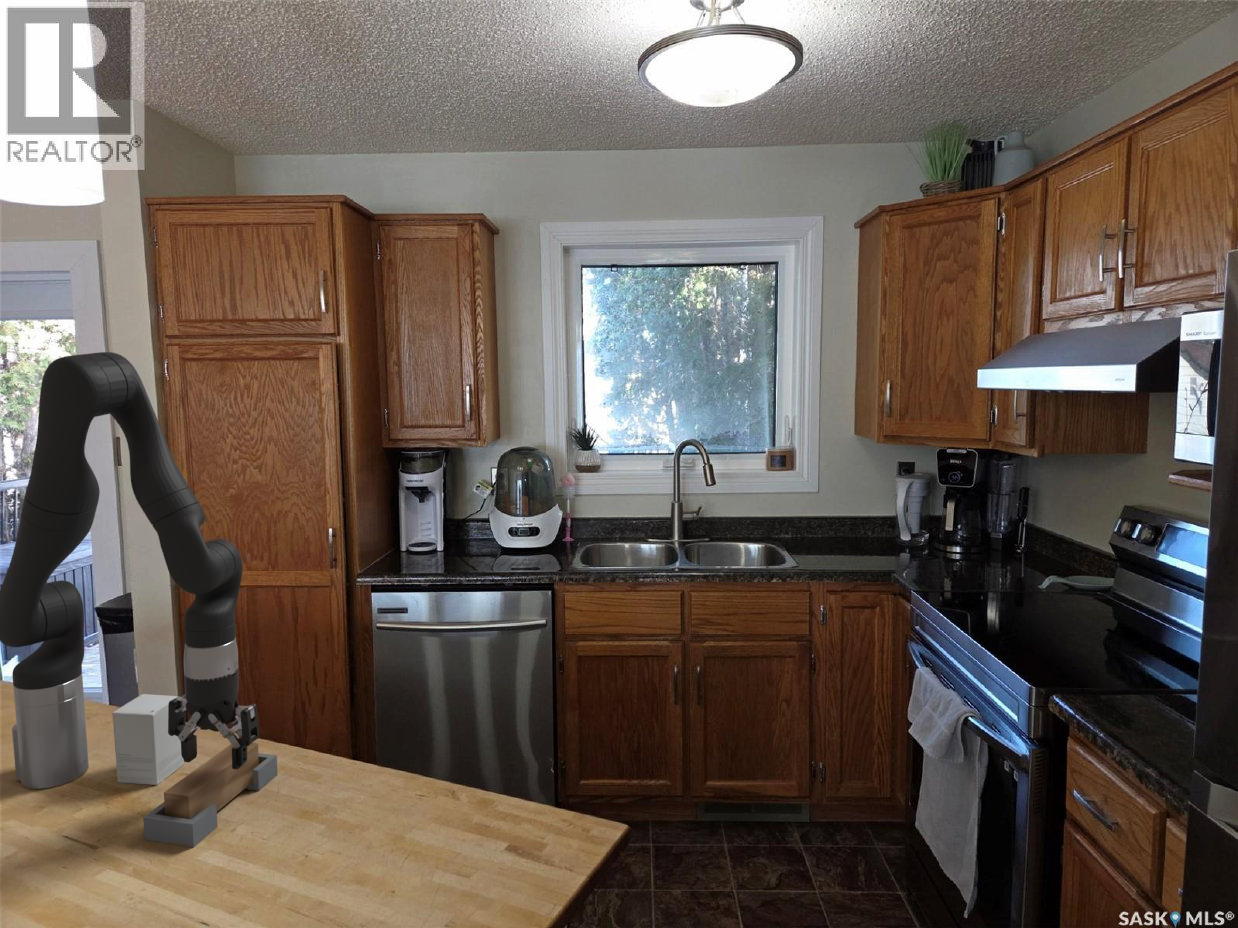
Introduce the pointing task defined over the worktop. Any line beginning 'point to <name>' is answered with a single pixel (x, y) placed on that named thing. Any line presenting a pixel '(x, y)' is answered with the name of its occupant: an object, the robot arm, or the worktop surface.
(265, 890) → the worktop surface
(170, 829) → the endcap
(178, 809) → the brown wooden bar
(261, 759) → the endcap
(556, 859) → the worktop surface
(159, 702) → the supplement box
